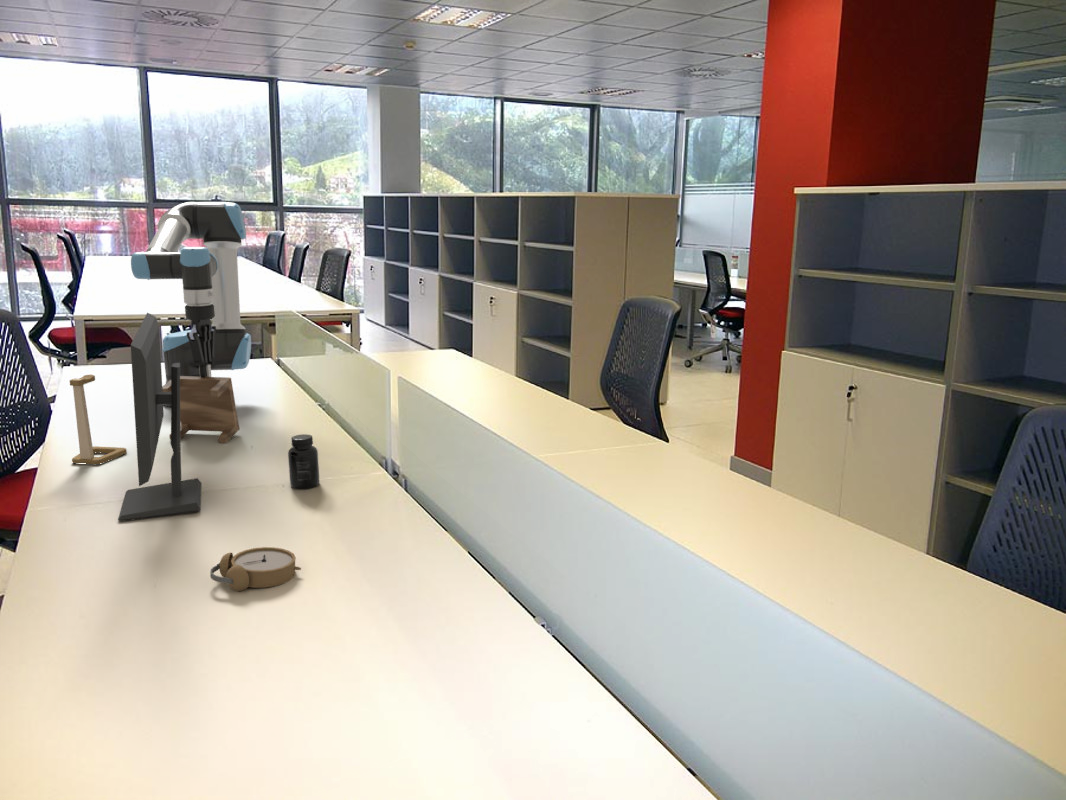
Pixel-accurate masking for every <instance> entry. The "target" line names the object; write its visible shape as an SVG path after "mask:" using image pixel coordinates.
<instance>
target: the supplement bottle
mask: <svg viewBox="0 0 1066 800" xmlns="http://www.w3.org/2000/svg"><path fill="white" fill-rule="evenodd" d="M313 444H314V439H313V436H312V435H311V434H296V435H293V436H292V437H291V446H292V447H290V448H289V450H288V451H287V455H288V456H287V457H288V468H289V469H288V470H289V471H288V473H289V482H290V483H289V484H290V485H289V486H291V488H293V489H297V490H306V489H313V488H315V487H317V486H319V483H320V466H319V451H318V449H317V447H316V446H314V445H313Z"/></svg>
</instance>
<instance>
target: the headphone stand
mask: <svg viewBox="0 0 1066 800" xmlns="http://www.w3.org/2000/svg"><path fill="white" fill-rule="evenodd" d="M95 381H96V376H95V375H94V374H85V375H83V376H82V377H79V378H77V377H76V378H71V379H70V380H69V386H71V387H72V390H73V398H74V399H73V400H74V410H75V418H76V428H77V436H78V437H77V438H78V445H79V446H78V447H79V453H78V454H76V455H75V456H74V457H72V458H71V463H72V462H73V463H86V464H100V463H103V462H105V463H107V462H109V461H108V460H110V461H112V460H115V459H117V458H120V457H121V455H122V456H124V455H123V454H125V455H126V454H127V453H128V451H127V450H128V449H127V448H126V447H114V446H112V447H111V446H93V442H92V435H91V434H92V433H91V428H90V421H89V420H90V419H89V414H88V407H87V401H86V393H85V388H84V387H85V386H84V385H86V384H90V383H92V382H95ZM95 452H101V453H100V454H104V453H108V454H104V455H100V456H95V455H94V453H95ZM95 454H96V453H95ZM119 456H120V457H119ZM116 457H117V458H116ZM114 458H115V459H114ZM111 459H112V460H111ZM106 461H107V462H106ZM73 463H72V464H73ZM103 464H104V463H103ZM100 465H101V464H100Z"/></svg>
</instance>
